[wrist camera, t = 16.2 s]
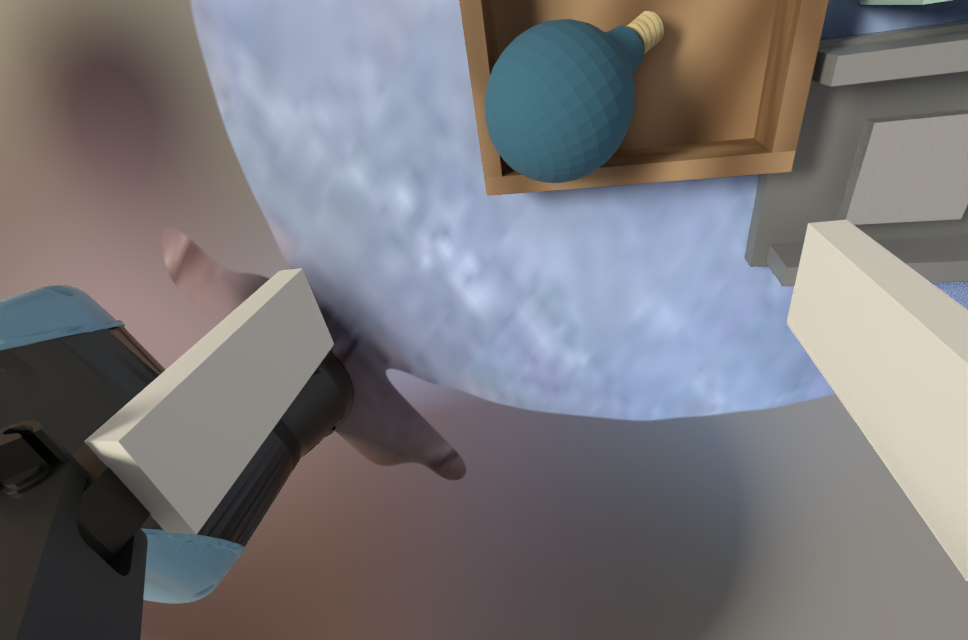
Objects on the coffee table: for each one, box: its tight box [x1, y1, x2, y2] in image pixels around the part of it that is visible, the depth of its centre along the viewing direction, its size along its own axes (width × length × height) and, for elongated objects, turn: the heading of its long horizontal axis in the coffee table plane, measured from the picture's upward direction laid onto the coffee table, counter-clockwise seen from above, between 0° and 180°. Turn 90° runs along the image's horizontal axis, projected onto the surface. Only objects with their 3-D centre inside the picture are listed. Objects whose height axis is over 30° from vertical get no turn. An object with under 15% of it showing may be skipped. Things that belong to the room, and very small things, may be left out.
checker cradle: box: [745, 20, 968, 286], centre depth 27 cm, size 14×14×5 cm
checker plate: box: [837, 109, 968, 225], centre depth 27 cm, size 6×6×1 cm
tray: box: [459, 0, 829, 196], centre depth 26 cm, size 18×18×4 cm
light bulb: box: [485, 11, 664, 183], centre depth 26 cm, size 8×8×12 cm
